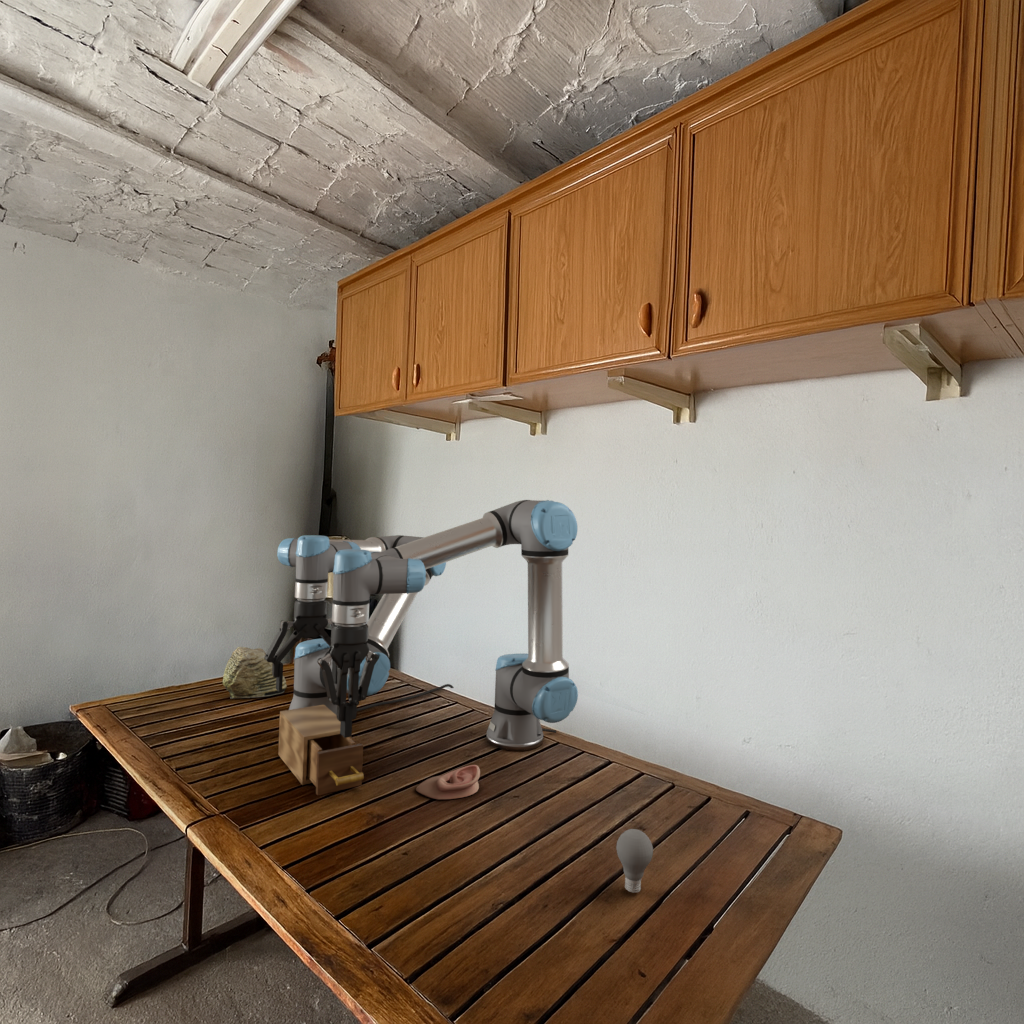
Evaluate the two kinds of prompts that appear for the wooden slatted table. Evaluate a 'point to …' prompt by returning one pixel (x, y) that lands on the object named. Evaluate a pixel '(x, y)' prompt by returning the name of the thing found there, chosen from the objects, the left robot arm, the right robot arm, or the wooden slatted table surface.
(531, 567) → the right robot arm
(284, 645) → the left robot arm
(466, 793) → the anatomical model
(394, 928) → the wooden slatted table surface
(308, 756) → the drawer
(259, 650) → the fossil
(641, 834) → the light bulb
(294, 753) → the cabinet
